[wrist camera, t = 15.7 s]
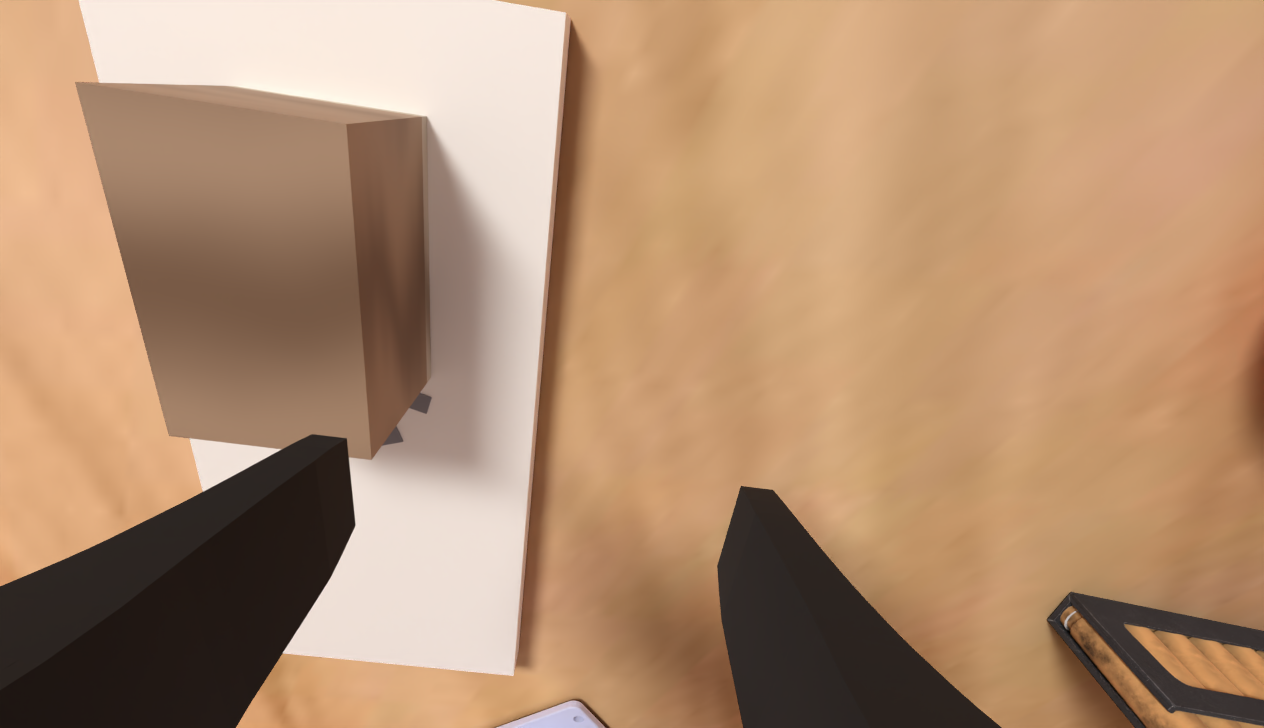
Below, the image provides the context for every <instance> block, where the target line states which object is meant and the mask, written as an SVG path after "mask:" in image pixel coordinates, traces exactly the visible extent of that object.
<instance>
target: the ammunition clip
mask: <svg viewBox="0 0 1264 728" xmlns="http://www.w3.org/2000/svg"><path fill="white" fill-rule="evenodd" d="M1047 621H1048V622H1049V623H1050V624H1051V625H1052V627H1053V628H1054V629H1055V630H1056V632H1057V633H1058V634H1059V635H1060V637H1061V638H1062V639H1063V640H1064V641H1065V643H1066V644H1067V645H1068V646H1069V648H1070V649H1071V650H1072V651H1073V652H1074V654H1075V655H1076V656H1077V657H1078V659H1079V660H1080V661H1081V662H1082V663H1083V665H1084V666H1085V667H1086V668H1087V670H1088V671H1089V672H1090V673H1091V674H1092V676H1093V677H1094V678H1095V679H1096V681H1097V682H1098V683H1099V684H1100V685H1101V687H1102V688H1103V689H1104V690H1105V692H1106V693H1107V694H1108V695H1109V696H1110V698H1111V699H1112V700H1113V701H1114V703H1115V704H1116V705H1117V706H1118V708H1119V709H1120V710H1121V711H1122V712H1123V714H1124V715H1125V716H1126V717H1127V719H1128V720H1129V721H1130V722H1131V723H1132V725H1133V726H1134V727H1135V728H1264V631H1261V630H1256V629H1251V628H1246V627H1241V626H1236V625H1231V624H1227V623H1222V622H1217V621H1212V620H1207V619H1202V618H1197V617H1192V616H1187V615H1182V614H1177V613H1172V612H1167V611H1162V610H1158V609H1153V608H1148V607H1143V606H1138V605H1133V604H1128V603H1123V602H1118V601H1113V600H1108V599H1103V598H1098V597H1093V596H1089V595H1084V594H1079V593H1074V592H1070V594H1069V595H1068V596H1067V597H1066V598H1065V599H1064V601H1063V602H1062V603H1061V604H1060V605H1059V606H1058V608H1057V609H1056V610H1055V611H1054V612H1053V613H1052V615H1051V616H1050V617H1049V618H1048V619H1047Z"/></svg>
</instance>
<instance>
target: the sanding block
mask: <svg viewBox="0 0 1264 728" xmlns="http://www.w3.org/2000/svg"><path fill="white" fill-rule="evenodd" d="M75 84H76V87H77V91H78V95H79V99H80V102H81V106H82V110H83V114H84V117H85V121H86V125H87V129H88V133H89V136H90V140H91V144H92V148H93V151H94V155H95V159H96V163H97V166H98V170H99V174H100V178H101V181H102V185H103V189H104V193H105V197H106V200H107V204H108V208H109V212H110V215H111V219H112V223H113V227H114V230H115V234H116V238H117V242H118V246H119V249H120V253H121V257H122V261H123V264H124V268H125V272H126V276H127V279H128V283H129V287H130V291H131V294H132V298H133V302H134V306H135V310H136V313H137V317H138V321H139V325H140V328H141V332H142V336H143V340H144V343H145V347H146V351H147V355H148V358H149V362H150V366H151V370H152V374H153V377H154V381H155V385H156V389H157V392H158V396H159V400H160V404H161V407H162V411H163V415H164V419H165V422H166V426H167V430H168V434H169V436H174V437H182V438H191V439H199V440H208V441H216V442H224V443H233V444H241V445H250V446H258V447H266V448H275V449H283V448H285V447H287V446H289V445H291V444H293V443H295V442H297V441H299V440H301V439H303V438H305V437H307V436H309V435H311V434H316V435H324V436H332V437H340V438H347V445H348V455H349V457H350V458H359V459H367V460H372V459H373V457H374V456H375V455H376V453H377V452H378V450H379V449H380V448H381V446H382V445H383V443H384V442H385V441H386V439H387V438H388V437H389V435H390V434H391V432H392V431H393V430H394V428H395V427H396V425H397V424H398V423H399V421H400V420H401V419H402V417H403V416H404V414H405V413H406V412H407V410H408V409H409V407H410V406H411V405H412V403H413V402H414V400H415V399H416V398H417V396H418V395H419V394H420V392H421V391H422V389H423V388H424V387H425V385H426V384H427V382H428V381H429V380H430V378H431V343H430V279H429V216H428V153H427V116H422V115H416V114H410V113H403V112H397V111H391V110H384V109H378V108H372V107H365V106H359V105H352V104H346V103H340V102H333V101H327V100H321V99H314V98H308V97H302V96H295V95H289V94H282V93H276V92H270V91H263V90H257V89H251V88H244V87H238V86H214V85H174V84H133V83H93V82H75Z"/></svg>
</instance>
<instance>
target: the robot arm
mask: <svg viewBox="0 0 1264 728" xmlns="http://www.w3.org/2000/svg"><path fill="white" fill-rule="evenodd" d="M355 526H356V524H355V514H354V504H353V494H352V484H351V474H350V465H349V455H348V445H347V438H340V437H332V436H324V435H316V434H311V435H309V436H307V437H305V438H303V439H301V440H299V441H297V442H295V443H293V444H291V445H289V446H287V447H285V448H283V449H281V450H280V451H278V452H276V453H274V454H272V455H270V456H268V457H267V458H265V459H263V460H261V461H259V462H257V463H256V464H254V465H252V466H250V467H248V468H246V469H245V470H243V471H241V472H239V473H237V474H235V475H234V476H232V477H230V478H228V479H226V480H224V481H222V482H220V483H219V484H217V485H215V486H213V487H211V488H209V489H207V490H206V491H204V492H202V493H200V494H198V495H196V496H194V497H192V498H191V499H189V500H187V501H185V502H183V503H181V504H179V505H177V506H175V507H173V508H171V509H169V510H167V511H165V512H163V513H161V514H159V515H157V516H155V517H153V518H151V519H149V520H147V521H144V522H142V523H140V524H138V525H136V526H134V527H132V528H130V529H128V530H126V531H124V532H122V533H120V534H118V535H116V536H114V537H112V538H110V539H108V540H106V541H104V542H102V543H99V544H97V545H95V546H93V547H91V548H89V549H86V550H84V551H82V552H80V553H78V554H75V555H73V556H71V557H69V558H66V559H64V560H62V561H60V562H57V563H55V564H53V565H50V566H48V567H45V568H43V569H41V570H38V571H36V572H34V573H31V574H29V575H27V576H24V577H22V578H19V579H17V580H15V581H12V582H10V583H8V584H5V585H3V586H0V728H236V726H237V725H238V723H239V721H240V720H241V718H242V716H243V715H244V713H245V711H246V710H247V708H248V706H249V705H250V703H251V701H252V700H253V698H254V697H255V695H256V694H257V692H258V691H259V689H260V687H261V686H262V684H263V683H264V681H265V680H266V678H267V677H268V675H269V674H270V672H271V670H272V669H273V667H274V666H275V664H276V663H277V661H278V660H279V658H280V656H281V655H282V653H283V652H284V650H285V649H286V647H287V646H288V644H289V643H290V641H291V639H292V638H293V636H294V635H295V633H296V632H297V630H298V629H299V627H300V626H301V624H302V622H303V621H304V619H305V618H306V616H307V615H308V613H309V611H310V610H311V608H312V607H313V605H314V604H315V602H316V600H317V599H318V597H319V596H320V594H321V593H322V591H323V589H324V588H325V586H326V585H327V583H328V581H329V580H330V578H331V576H332V574H333V572H334V570H335V568H336V566H337V564H338V562H339V560H340V558H341V556H342V554H343V552H344V550H345V548H346V545H347V543H348V541H349V539H350V537H351V534H352V532H353V530H354V528H355ZM717 567H718V582H719V596H720V607H721V618H722V624H723V629H724V634H725V639H726V645H727V650H728V655H729V660H730V665H731V670H732V675H733V679H734V684H735V689H736V694H737V699H738V704H739V709H740V714H741V719H742V724H743V728H1001V727H1000V726H999V725H998V724H997V723H995V722H994V721H993V720H992V719H991V718H989V717H988V716H987V715H986V714H985V713H983V712H982V711H981V710H980V709H979V708H977V707H976V706H975V705H974V704H973V703H972V702H971V701H969V700H968V699H967V698H966V697H965V696H964V695H963V694H961V693H960V692H959V691H958V690H957V689H956V688H955V687H954V686H952V685H951V684H950V683H949V682H948V681H947V680H946V679H945V678H944V677H943V676H942V675H941V674H940V673H939V672H937V671H936V670H935V669H934V668H933V667H932V666H931V665H930V664H929V663H928V662H927V661H926V660H925V659H924V658H922V657H921V656H920V655H919V654H918V653H917V652H916V651H915V650H914V649H913V648H912V647H911V646H910V645H909V644H908V643H907V642H906V641H905V640H904V639H903V638H902V637H901V636H900V635H899V634H898V633H897V632H896V631H895V630H894V629H893V628H892V627H891V626H890V625H889V624H888V623H887V622H886V621H885V620H884V619H883V618H882V616H881V615H880V614H879V613H878V612H877V611H876V610H875V609H874V608H873V607H872V606H871V605H870V604H869V603H868V602H867V601H866V600H865V599H864V597H863V596H862V595H861V594H860V593H859V592H858V591H857V590H856V589H855V587H854V586H853V585H852V584H851V583H850V582H849V581H848V580H847V578H846V577H845V576H844V575H843V574H842V573H841V572H840V570H839V569H838V568H837V567H836V566H835V565H834V563H833V562H832V561H831V560H830V559H829V558H828V556H827V555H826V554H825V553H824V552H823V550H822V549H821V548H820V547H819V546H818V544H817V543H816V542H815V541H814V539H813V538H812V537H811V536H810V535H809V533H808V532H807V531H806V530H805V528H804V527H803V526H802V525H801V524H800V522H799V521H798V520H797V519H796V517H795V516H794V515H793V514H792V512H791V511H790V510H789V509H788V507H787V506H786V505H785V504H784V503H783V501H782V500H781V499H780V498H779V497H778V495H777V494H776V493H775V492H774V491H773V490H769V489H760V488H752V487H744V486H741V488H740V491H739V495H738V498H737V501H736V505H735V508H734V512H733V515H732V518H731V522H730V525H729V528H728V532H727V535H726V539H725V542H724V545H723V549H722V552H721V556H720V559H719V562H718V566H717ZM496 728H605V727H604V726H603V724H602V723H601V722H600V721H599V720H598V719H597V718H596V717H595V716H594V715H593V714H592V713H591V712H590V711H589V710H588V709H587V708H586V707H585V706H584V705H583V704H582V703H581V702H579V701H575V700H572V701H568V702H565V703H563V704H560V705H557V706H554V707H551V708H549V709H546V710H543V711H540V712H538V713H535V714H532V715H529V716H527V717H524V718H521V719H518V720H515V721H513V722H510V723H507V724H504V725H502V726H499V727H496Z"/></svg>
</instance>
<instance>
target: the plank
mask: <svg viewBox="0 0 1264 728" xmlns="http://www.w3.org/2000/svg"><path fill="white" fill-rule="evenodd" d="M79 4H80V8H81V12H82V16H83V20H84V24H85V27H86V31H87V35H88V39H89V43H90V47H91V51H92V55H93V59H94V63H95V67H96V71H97V75H98V79H99V83H133V84H174V85H214V86H238V87H244V88H251V89H257V90H263V91H270V92H276V93H282V94H289V95H295V96H302V97H308V98H314V99H321V100H327V101H333V102H340V103H346V104H352V105H359V106H365V107H372V108H378V109H384V110H391V111H397V112H403V113H410V114H416V115H422V116H427V153H428V216H429V279H430V343H431V378H430V380H429V381H428V382H427V384H426V385H425V387H424V388H423V389H422V391H421V392H420V394H419V395H418V396H417V398H416V399H415V400H414V402H413V403H412V405H411V406H410V407H409V409H408V410H407V412H406V413H405V414H404V416H403V417H402V419H401V420H400V421H399V423H398V424H397V425H396V427H395V428H394V430H393V431H392V432H391V434H390V435H389V437H388V438H387V439H386V441H385V442H384V443H383V445H382V446H381V448H380V449H379V450H378V452H377V453H376V455H375V456H374V457H373V459H372V460H367V459H359V458H350V457H349V465H350V474H351V484H352V494H353V504H354V514H355V524H356V526H355V528H354V530H353V532H352V534H351V537H350V539H349V541H348V543H347V545H346V548H345V550H344V552H343V554H342V556H341V558H340V560H339V562H338V564H337V566H336V568H335V570H334V572H333V574H332V576H331V578H330V580H329V581H328V583H327V585H326V586H325V588H324V589H323V591H322V593H321V594H320V596H319V597H318V599H317V600H316V602H315V604H314V605H313V607H312V608H311V610H310V611H309V613H308V615H307V616H306V618H305V619H304V621H303V622H302V624H301V626H300V627H299V629H298V630H297V632H296V633H295V635H294V636H293V638H292V639H291V641H290V643H289V644H288V646H287V647H286V649H285V650H284V652H283V653H285V654H296V655H306V656H316V657H326V658H337V659H347V660H357V661H367V662H378V663H388V664H398V665H408V666H419V667H429V668H439V669H449V670H460V671H470V672H480V673H490V674H501V675H511V676H514V671H515V666H516V661H517V656H518V651H519V639H520V627H521V615H522V603H523V591H524V579H525V567H526V555H527V543H528V531H529V519H530V507H531V494H532V482H533V470H534V458H535V446H536V434H537V422H538V410H539V398H540V386H541V374H542V362H543V350H544V337H545V325H546V313H547V301H548V289H549V277H550V265H551V253H552V241H553V229H554V217H555V205H556V193H557V181H558V168H559V156H560V144H561V132H562V120H563V108H564V96H565V84H566V72H567V60H568V48H569V36H570V24H571V18H570V17H569V16H568V14H567V13H565V12H559V11H553V10H548V9H542V8H536V7H530V6H524V5H518V4H513V3H507V2H501V1H495V0H79ZM190 442H191V446H192V450H193V454H194V458H195V462H196V466H197V470H198V474H199V478H200V482H201V486H202V490H203V492H204V491H206V490H207V489H209V488H211V487H213V486H215V485H217V484H219V483H220V482H222V481H224V480H226V479H228V478H230V477H232V476H234V475H235V474H237V473H239V472H241V471H243V470H245V469H246V468H248V467H250V466H252V465H254V464H256V463H257V462H259V461H261V460H263V459H265V458H267V457H268V456H270V455H272V454H274V453H276V452H278V451H280V450H281V449H275V448H266V447H258V446H250V445H241V444H233V443H224V442H216V441H208V440H199V439H191V438H190Z"/></svg>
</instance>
